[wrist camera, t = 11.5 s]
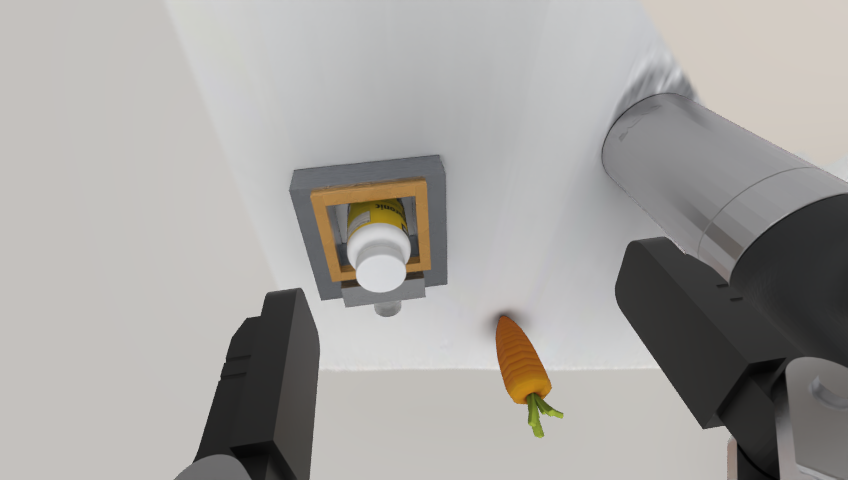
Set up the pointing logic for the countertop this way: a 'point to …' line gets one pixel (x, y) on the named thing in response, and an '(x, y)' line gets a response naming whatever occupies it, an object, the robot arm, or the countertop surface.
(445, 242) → the grey drawer
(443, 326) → the countertop surface
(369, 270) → the supplement bottle
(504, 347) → the carrot
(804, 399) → the robot arm
